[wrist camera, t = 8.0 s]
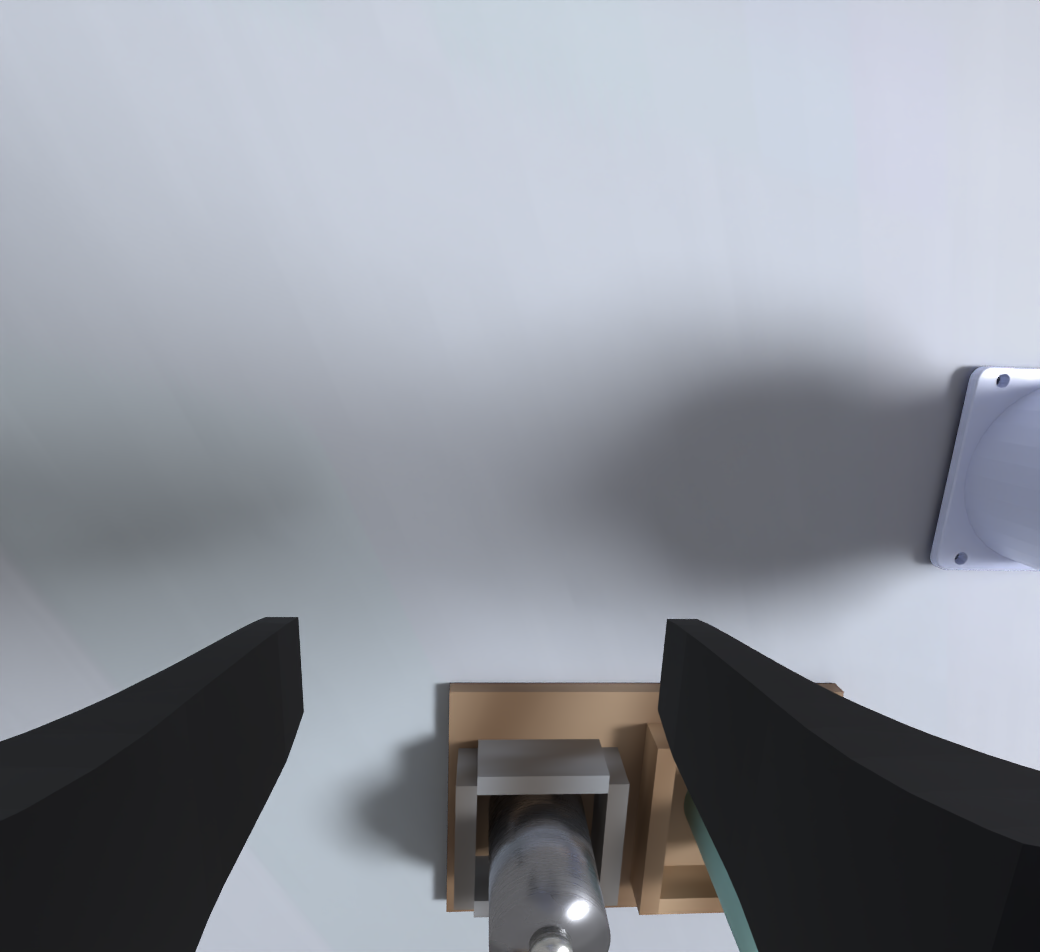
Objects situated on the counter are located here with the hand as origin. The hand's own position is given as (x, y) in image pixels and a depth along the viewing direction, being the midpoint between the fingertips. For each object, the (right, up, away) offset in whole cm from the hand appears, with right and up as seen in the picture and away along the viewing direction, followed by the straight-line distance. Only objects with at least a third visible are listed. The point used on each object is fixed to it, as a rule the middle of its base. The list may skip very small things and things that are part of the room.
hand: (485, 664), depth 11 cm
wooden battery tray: (+6, -10, +13) cm, 18 cm away
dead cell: (+1, -10, +13) cm, 16 cm away
